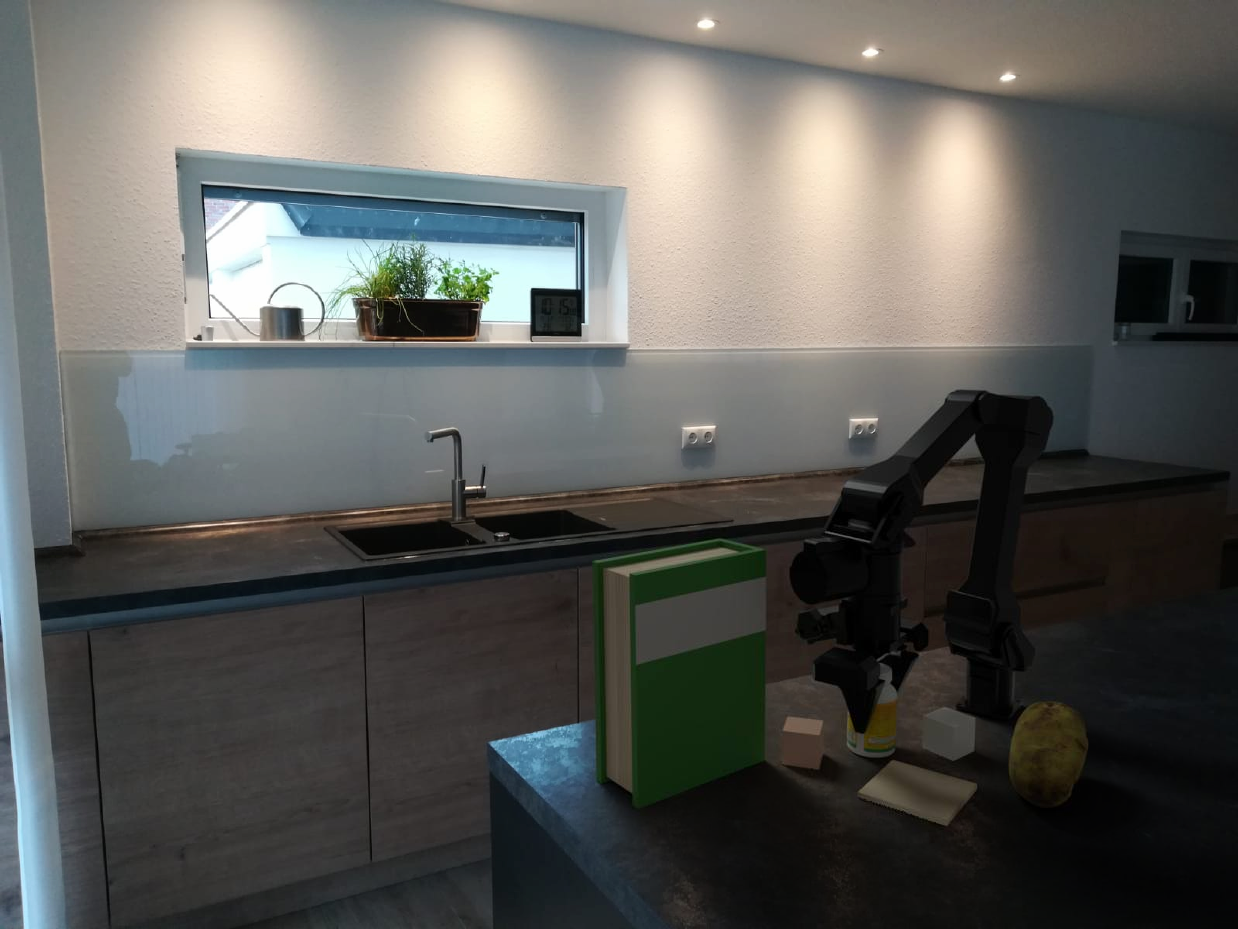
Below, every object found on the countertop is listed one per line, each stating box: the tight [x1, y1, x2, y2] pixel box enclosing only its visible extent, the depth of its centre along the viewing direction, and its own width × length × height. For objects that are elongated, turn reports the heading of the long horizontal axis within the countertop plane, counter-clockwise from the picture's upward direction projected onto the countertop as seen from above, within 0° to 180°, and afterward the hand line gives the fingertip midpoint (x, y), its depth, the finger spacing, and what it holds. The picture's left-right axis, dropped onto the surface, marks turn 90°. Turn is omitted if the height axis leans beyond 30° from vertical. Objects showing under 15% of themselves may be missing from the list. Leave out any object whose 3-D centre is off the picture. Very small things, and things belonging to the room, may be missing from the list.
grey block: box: [921, 706, 976, 762], centre depth 101 cm, size 4×4×4 cm
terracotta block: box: [781, 716, 824, 770], centre depth 99 cm, size 4×4×4 cm
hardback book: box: [592, 538, 767, 810], centre depth 96 cm, size 18×7×24 cm, turn 125°
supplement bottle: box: [846, 663, 898, 759], centre depth 101 cm, size 5×5×10 cm
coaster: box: [857, 759, 978, 827], centre depth 91 cm, size 9×9×1 cm
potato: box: [1008, 700, 1089, 809], centre depth 92 cm, size 8×13×8 cm, turn 132°
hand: (871, 723), depth 101 cm, fingers open, 6 cm apart
